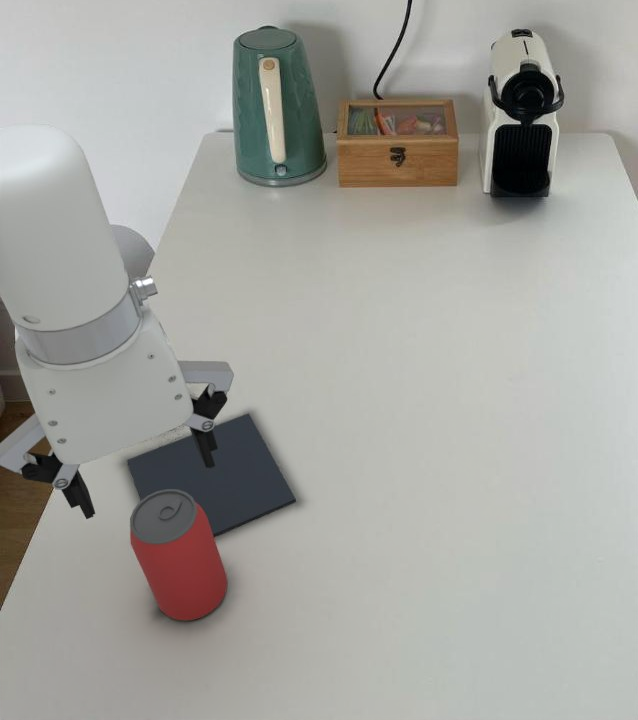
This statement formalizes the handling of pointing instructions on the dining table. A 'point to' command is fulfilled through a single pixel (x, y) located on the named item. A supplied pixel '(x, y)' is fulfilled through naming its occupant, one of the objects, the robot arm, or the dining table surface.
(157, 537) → the beer can
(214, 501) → the mat
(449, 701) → the dining table surface
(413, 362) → the dining table surface
